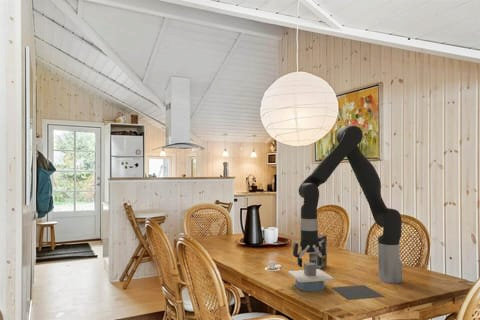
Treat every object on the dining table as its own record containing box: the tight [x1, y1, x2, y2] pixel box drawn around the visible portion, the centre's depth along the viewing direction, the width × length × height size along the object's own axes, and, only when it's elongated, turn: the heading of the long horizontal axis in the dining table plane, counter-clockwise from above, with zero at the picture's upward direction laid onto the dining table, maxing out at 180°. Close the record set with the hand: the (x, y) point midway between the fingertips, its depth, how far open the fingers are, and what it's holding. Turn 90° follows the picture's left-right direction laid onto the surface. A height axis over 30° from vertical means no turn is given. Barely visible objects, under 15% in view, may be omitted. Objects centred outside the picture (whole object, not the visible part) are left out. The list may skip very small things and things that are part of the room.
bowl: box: [295, 279, 326, 292], centre depth 163 cm, size 12×12×5 cm
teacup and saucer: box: [264, 260, 282, 272], centre depth 195 cm, size 9×8×4 cm
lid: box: [287, 262, 335, 282], centre depth 163 cm, size 15×15×5 cm
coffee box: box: [308, 234, 328, 270], centre depth 199 cm, size 9×6×16 cm
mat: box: [330, 284, 386, 301], centre depth 155 cm, size 16×16×1 cm
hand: (309, 266), depth 163 cm, fingers open, 8 cm apart
